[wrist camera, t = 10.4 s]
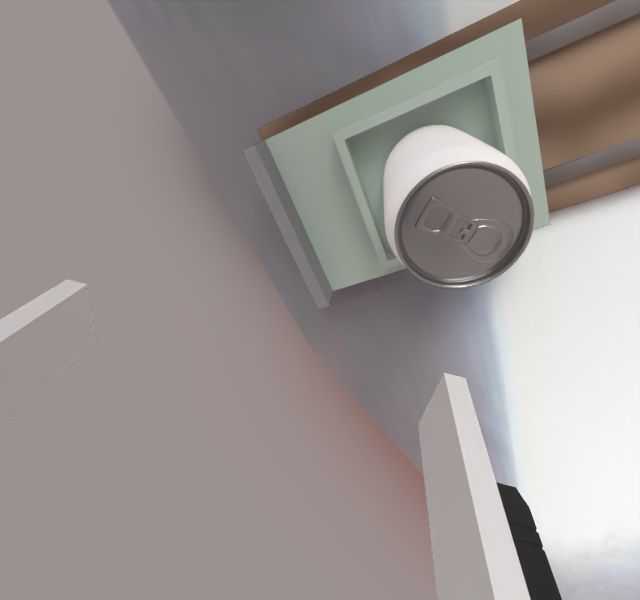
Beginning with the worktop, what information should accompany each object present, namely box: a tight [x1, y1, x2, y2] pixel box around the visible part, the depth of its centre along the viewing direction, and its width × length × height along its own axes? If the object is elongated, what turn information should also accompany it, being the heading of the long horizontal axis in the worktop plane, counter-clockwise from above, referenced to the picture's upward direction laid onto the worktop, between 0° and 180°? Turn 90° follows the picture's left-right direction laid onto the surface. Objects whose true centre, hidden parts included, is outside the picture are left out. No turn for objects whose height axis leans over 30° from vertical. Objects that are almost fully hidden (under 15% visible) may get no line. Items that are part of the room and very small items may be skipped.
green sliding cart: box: [242, 18, 550, 310], centre depth 27 cm, size 13×18×6 cm
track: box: [258, 0, 640, 213], centre depth 26 cm, size 15×41×3 cm, turn 113°
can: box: [383, 125, 534, 289], centre depth 21 cm, size 6×6×12 cm
